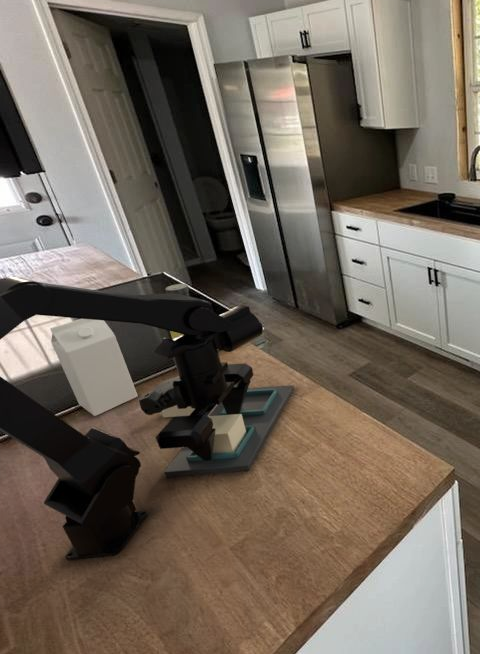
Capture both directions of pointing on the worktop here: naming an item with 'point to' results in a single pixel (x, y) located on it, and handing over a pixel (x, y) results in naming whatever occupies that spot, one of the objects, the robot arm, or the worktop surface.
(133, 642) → the worktop surface
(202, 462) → the back board
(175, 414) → the pad
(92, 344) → the milk carton
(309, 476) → the worktop surface
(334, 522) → the worktop surface
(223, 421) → the pad
